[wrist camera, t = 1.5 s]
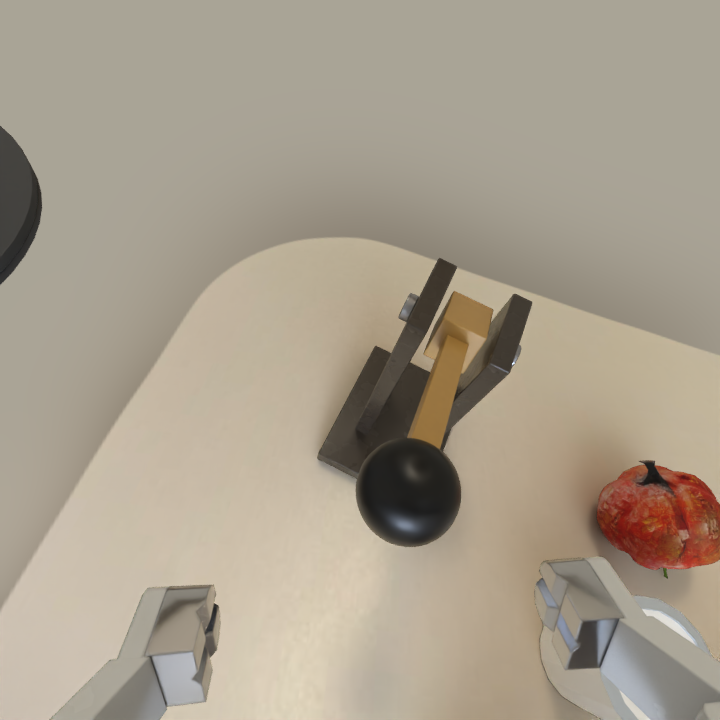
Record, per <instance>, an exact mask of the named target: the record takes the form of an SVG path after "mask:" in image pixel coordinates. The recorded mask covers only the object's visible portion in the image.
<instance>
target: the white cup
mask: <svg viewBox="0 0 720 720" xmlns="http://www.w3.org/2000/svg"><path fill="white" fill-rule="evenodd" d="M633 597H634V599H635V600H636V602H637V603H638V604H639V606H640V607H641V609H642V610H643V612H644V613H645V614H646V616H653V617H655V618H656V619H658V620H659V621H661V622H662V623H664V624H665V625H666V626H668V627H669V628H671V629H672V630H674V631H675V632H677V633H678V634H680V635H681V636H683V637H684V638H686V639H687V640H689V641H690V642H691V643H693V644H694V645H696V646H697V647H699V648H700V649H702V650H703V651H705V652H706V653H708V654H709V655H711V653H710V651H709V650H708V648H707V646H706V644H705V642H704V640H703V638H702V636H701V634H700V633H699V632H698V631H697V630H696V628H695V627H694V626H693V625H692V624H691V623H690V622H689V621H688V620H687V618H686V617H685V616H684V615H683V614H682V613H681V612H680V611H678V610H677V609H675V608H673V607H672V606H670V605H668V604H667V603H665V602H663V601H662V600H660V599H658V598H651V597H644V596H637V595H635V596H633ZM552 636H553V632H552V631H551V630H550V629H549V628H547V627H546V626H545V625H544V626H543V630H542V634H541V637H540V649H541V660H542V663H543V665H544V668H545V671H546V673H547V676H548V679H549V680H550V682H551V683H552V684H553V686H554V687H555V688H556V689H557V691H558V692H559V693H560V695H561V696H563V697H564V698H566V699H567V700H569V701H570V702H572V703H573V704H575V705H577V706H578V707H580V708H582V709H584V710H585V711H587V712H589V713H591V714H593V715H594V716H596V717H598V718H600V719H602V720H650V719H649V718H648V717H647V716H646V715H645V714H644V713H643V712H642V711H641V710H640V709H639V708H638V707H637V706H636V705H635V704H634V703H633V702H632V701H631V700H630V699H629V698H628V697H627V696H626V695H625V694H623V693H622V692H621V691H620V690H619V689H618V688H617V687H616V686H615V685H614V684H613V683H612V682H611V681H610V680H609V679H608V678H607V677H606V676H605V675H604V674H603V673H602V672H601V671H600V668H595V669H577V670H564V668H563V665H562V663H561V661H560V659H559V657H558V655H557V653H556V651H555V649H554V646H553V644H552V642H551V641H552ZM711 656H712V655H711Z"/></svg>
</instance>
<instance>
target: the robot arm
mask: <svg viewBox="0 0 720 720" xmlns="http://www.w3.org/2000/svg"><path fill="white" fill-rule="evenodd" d="M539 572H540V574H541V576H542V578H541V579H540V580H539V581H538V582H537V583H536V586H535V591H534V596H535V605H536V608H537V611H538V614H539V616H540V619H541V621H542V623H543V624H544V625H545V626H546V627H547V628H549V629H550V630H551V631H552V632H553V636H552V641H551V642H552V644H553V646H554V649H555V651H556V653H557V655H558V657H559V659H560V661H561V663H562V665H563V668H564V670H577V669H595V668H600V671H601V672H602V673H603V674H604V675H605V676H606V677H607V678H608V679H609V680H610V681H611V682H612V683H613V684H614V685H615V686H616V687H617V688H618V689H619V690H620V691H621V692H622V693H623V694H625V695H626V696H627V697H628V698H629V699H630V700H631V701H632V702H633V703H634V704H635V705H636V706H637V707H638V708H639V709H640V710H641V711H642V712H643V713H644V714H645V715H646V716H647V717H648V718H649V719H650V720H720V662H719V661H718V660H716V659H715V658H713V657H712V656H711V655H709V654H708V653H706V652H705V651H703V650H702V649H700V648H699V647H697V646H696V645H694V644H693V643H691V642H690V641H689V640H687V639H686V638H684V637H683V636H681V635H680V634H678V633H677V632H675V631H674V630H672V629H671V628H669V627H668V626H666V625H665V624H664V623H662V622H661V621H659V620H658V619H656V618H655V617H653V616H646V614H645V613H644V612H643V610H642V609H641V607H640V606H639V604H638V603H637V602H636V600H635V599H634V597H633V596H632V595H631V593H630V592H629V590H628V589H627V587H626V586H625V585H624V583H623V582H622V580H621V579H620V578H619V576H618V575H617V573H616V572H615V570H614V569H613V568H612V566H611V565H610V563H609V562H608V561H607V560H606V559H605V558H604V557H589V558H570V559H558V560H547V561H544V562H542V563H541V566H540V570H539ZM215 597H216V591H215V587H214V585H193V586H169V587H152V588H147V589H146V591H145V592H144V593H143V595H142V597H141V600H140V602H139V605H138V607H137V610H136V612H135V615H134V617H133V620H132V622H131V625H130V627H129V630H128V632H127V635H126V637H125V640H124V642H123V645H122V648H121V650H120V653H119V655H118V658H117V659H113V660H109V661H108V662H107V663H106V664H105V665H104V666H103V667H102V668H101V669H100V670H99V671H98V672H97V673H96V674H95V675H94V676H93V677H92V678H91V679H90V680H89V681H88V682H87V683H86V684H85V685H84V686H83V687H82V688H81V689H80V690H79V691H78V692H77V693H76V694H75V695H74V696H73V697H72V698H71V699H70V700H69V701H68V702H67V703H66V704H65V705H64V706H63V707H62V708H61V709H60V710H59V711H58V712H57V713H56V714H55V715H54V716H53V717H52V718H51V719H50V720H160V718H161V717H162V716H163V714H164V713H165V711H166V710H167V707H168V706H177V705H185V704H193V703H202V702H206V700H207V695H208V690H209V686H210V681H211V676H212V671H213V669H212V665H211V660H210V657H211V656H212V655H213V654H214V653H215V651H216V650H217V646H218V641H219V634H220V611H219V606H218V605H216V604H215V603H214V601H215Z"/></svg>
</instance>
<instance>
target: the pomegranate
mask: <svg viewBox="0 0 720 720" xmlns="http://www.w3.org/2000/svg"><path fill="white" fill-rule="evenodd" d="M640 462H642V463H644V464H645V465H640V466H636V467H633V468H631V469H628V470H626V471H624V472H623V473H622V474H621V475H620V476H619V478H618V479H617V480H615V481H613V482H612V483H609V484H608V485H606V486H605V487H604V488H603V490H602V492H601V494H600V496H599V501H598V509H597V521H598V523H599V526H600V528H601V531H602V533H603V534H604V535H605V537H606V538H607V539H608V540H609V541H610V543H611V544H612V545H613V546H614V547H615V548H617V549H619V550H621V551H625V552H626V553H629V555H630V556H631V557H632V559H633V560H634V561H635V562H636V563H638V564H639V565H642V566H644V567H646V568H649V569H652V570H657V569H660V567H662V568H663V571H664V577H666V578H668V577H667V572H666V568H668V569H688V568H691V567H695V566H701V565H708V564H712V563H715V562H716V561H718V560H720V504H719V503H718V502H717V500H716V497H715V496H714V494H713V493H712V491H711V490H710V488H709V487H708V486H707V485H706V484H705V483H704V482H703V481H701V480H700V479H699V478H697V477H696V476H695V475H691V474H687V473H684V472H676V471H675V472H674V471H671V470H669V469H667V468H665V467H661V466H656V465H655V461H640Z"/></svg>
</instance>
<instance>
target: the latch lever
mask: <svg viewBox="0 0 720 720" xmlns="http://www.w3.org/2000/svg"><path fill="white" fill-rule="evenodd" d="M492 314H493V309H491V308H489V307H487V306H485V305H483V304H481V303H479V302H476V301H474V300H472V299H470V298H468V297H466V296H464V295H462V294H460V293H458V292H456V291H454V292H453V293H452V295H451V297H450V299H449V300H448V302H447V304H446V306H445V308H444V309H443V311H442V313H441V315H440V317H439V319H438V320H437V322H436V324H435V326H434V328H433V331H432V333H431V336H430V338H429V341H428V343H427V346H426V348H425V351H424V355H426V356H428V357H430V358H432V359H434V360H435V362H434V365H433V367H432V370H431V373H430V376H429V378H428V381H427V384H426V387H425V389H424V392H423V395H422V398H421V400H420V403H419V406H418V409H417V411H416V414H415V417H414V420H413V422H412V425H411V428H410V431H409V433H408V436H407V438H398V439H394V440H391V441H388V442H386V443H384V444H382V445H380V446H379V447H377V448H376V449H375V450H374V451H373V452H371V453H370V454H369V456H368V457H367V458H366V460H365V461H364V462H363V464H362V466H361V468H360V471H359V474H358V477H357V482H356V500H357V504H358V508H359V511H360V513H361V516H362V518H363V519H364V521H365V523H366V524H367V525H368V527H369V528H370V529H371V530H372V531H373V532H374V533H375V534H376V535H378V536H379V537H380V538H382V539H383V540H385V541H387V542H389V543H391V544H395V545H398V546H404V547H416V546H422V545H426V544H428V543H430V542H433V541H435V540H436V539H438V538H439V537H441V536H442V535H443V534H444V533H445V532H446V531H447V530H448V529H449V528H450V526H451V525H452V524H453V522H454V520H455V518H456V516H457V514H458V511H459V507H460V502H461V486H460V481H459V477H458V474H457V471H456V469H455V467H454V466H453V464H452V462H451V461H450V459H449V458H448V457H447V456H446V455H445V454H444V453H443V452H442V451H441V450H440V448H441V444H442V440H443V437H444V433H445V430H446V426H447V422H448V419H449V415H450V411H451V408H452V404H453V401H454V397H455V393H456V390H457V386H458V382H459V379H460V375H461V373H465V371H466V370H467V368H468V367H469V365H470V364H471V362H472V361H473V359H474V358H475V356H476V355H477V353H478V352H479V350H480V349H481V347H482V346H483V344H484V343H485V341H486V340H487V336H488V332H489V327H490V323H491V318H492Z"/></svg>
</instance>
